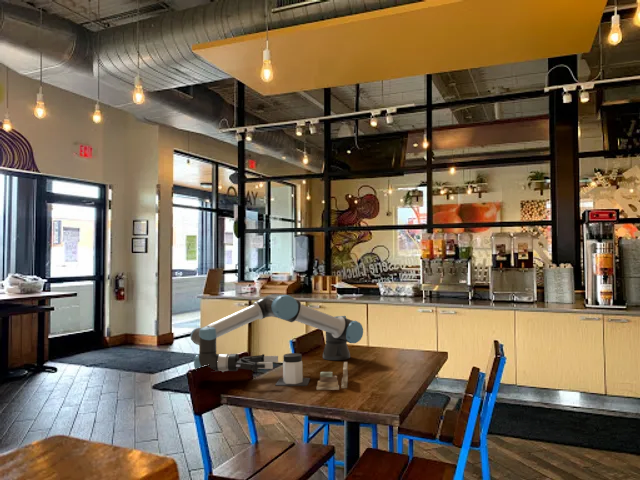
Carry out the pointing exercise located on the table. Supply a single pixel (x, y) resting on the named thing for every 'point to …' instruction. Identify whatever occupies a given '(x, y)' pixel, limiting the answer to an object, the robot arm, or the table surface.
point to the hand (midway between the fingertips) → (275, 362)
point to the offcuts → (327, 380)
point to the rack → (344, 380)
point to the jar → (292, 368)
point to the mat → (304, 383)
